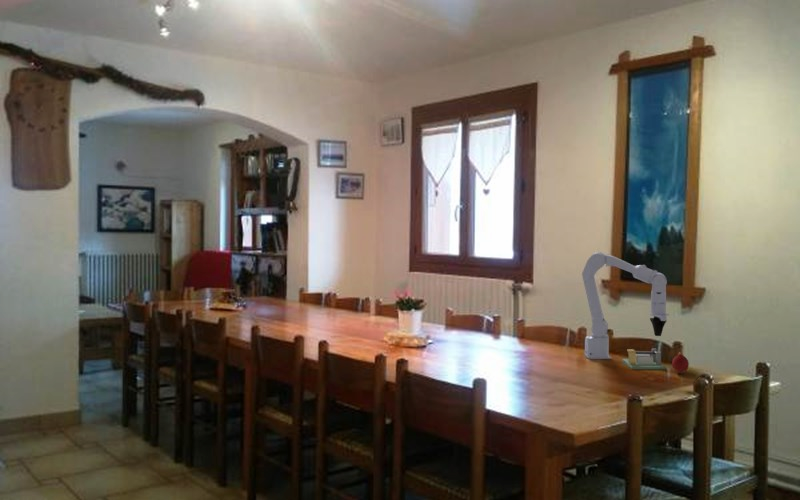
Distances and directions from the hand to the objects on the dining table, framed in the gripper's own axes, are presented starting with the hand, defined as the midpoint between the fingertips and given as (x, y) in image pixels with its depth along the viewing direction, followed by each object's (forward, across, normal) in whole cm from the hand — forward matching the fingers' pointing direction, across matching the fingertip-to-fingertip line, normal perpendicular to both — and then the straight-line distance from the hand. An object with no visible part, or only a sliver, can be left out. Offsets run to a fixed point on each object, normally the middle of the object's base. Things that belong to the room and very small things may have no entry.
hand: (657, 335), depth 275 cm
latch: (+9, -9, +13) cm, 19 cm away
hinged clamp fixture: (+10, -8, +8) cm, 15 cm away
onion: (+11, -21, -2) cm, 24 cm away
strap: (+6, -8, +8) cm, 13 cm away
